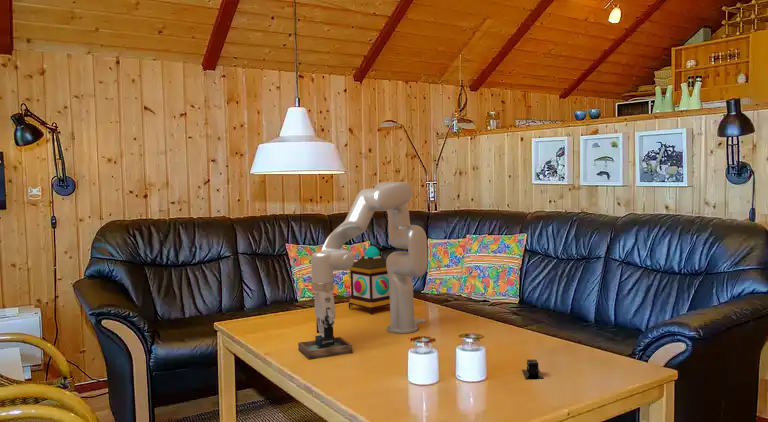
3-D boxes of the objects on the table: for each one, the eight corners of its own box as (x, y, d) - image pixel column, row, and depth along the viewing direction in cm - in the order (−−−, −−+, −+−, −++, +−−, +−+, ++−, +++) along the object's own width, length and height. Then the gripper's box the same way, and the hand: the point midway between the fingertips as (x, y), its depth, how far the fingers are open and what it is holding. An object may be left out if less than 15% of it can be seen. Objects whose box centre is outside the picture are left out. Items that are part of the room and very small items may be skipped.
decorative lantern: (377, 303, 296) (375, 242, 294) (404, 309, 280) (402, 245, 279) (344, 309, 283) (342, 246, 281) (370, 316, 268) (368, 249, 266)
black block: (518, 369, 189) (518, 355, 189) (542, 369, 188) (541, 355, 188) (523, 382, 177) (523, 367, 176) (548, 383, 176) (548, 367, 176)
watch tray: (340, 344, 223) (340, 336, 223) (352, 352, 211) (352, 345, 211) (298, 350, 217) (298, 342, 216) (308, 359, 205) (308, 351, 205)
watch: (322, 348, 209) (320, 317, 208) (313, 343, 216) (312, 313, 215) (337, 346, 212) (335, 315, 211) (328, 341, 219) (327, 311, 218)
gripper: (341, 289, 206) (343, 339, 207) (325, 282, 222) (327, 328, 223) (320, 291, 203) (322, 342, 204) (305, 284, 219) (307, 331, 220)
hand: (325, 335), depth 214 cm, fingers closed on watch, 8 cm apart
